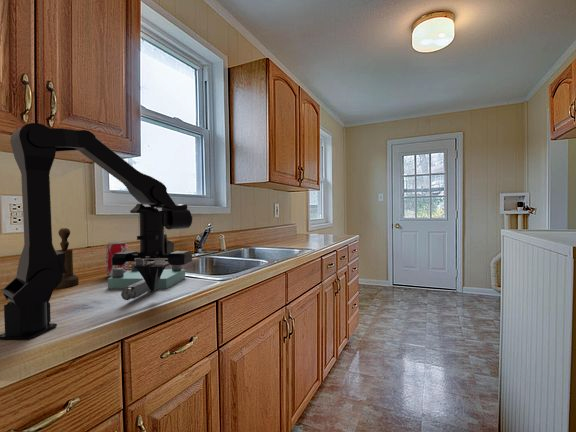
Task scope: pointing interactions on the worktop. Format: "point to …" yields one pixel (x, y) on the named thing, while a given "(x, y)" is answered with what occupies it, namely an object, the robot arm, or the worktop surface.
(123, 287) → the stool seat
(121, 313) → the worktop surface
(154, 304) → the worktop surface
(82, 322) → the worktop surface
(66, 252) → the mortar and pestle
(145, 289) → the folding leg
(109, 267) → the soda can
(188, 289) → the worktop surface
